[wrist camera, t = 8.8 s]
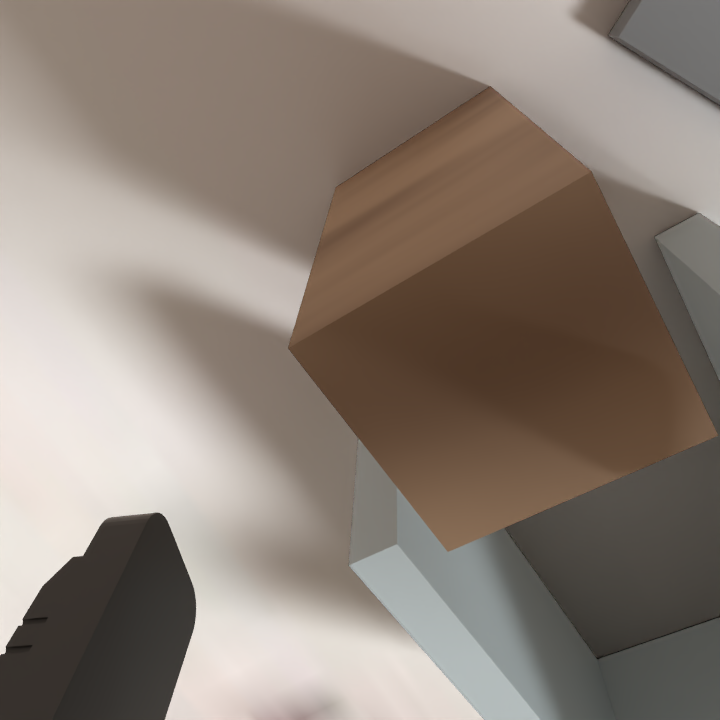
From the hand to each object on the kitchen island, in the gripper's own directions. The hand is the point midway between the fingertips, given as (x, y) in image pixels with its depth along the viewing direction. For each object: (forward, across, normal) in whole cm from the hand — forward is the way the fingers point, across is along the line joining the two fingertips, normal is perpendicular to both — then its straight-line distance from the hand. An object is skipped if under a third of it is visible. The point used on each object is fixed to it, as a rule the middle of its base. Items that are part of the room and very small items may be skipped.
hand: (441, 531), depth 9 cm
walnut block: (+10, -1, -2) cm, 10 cm away
